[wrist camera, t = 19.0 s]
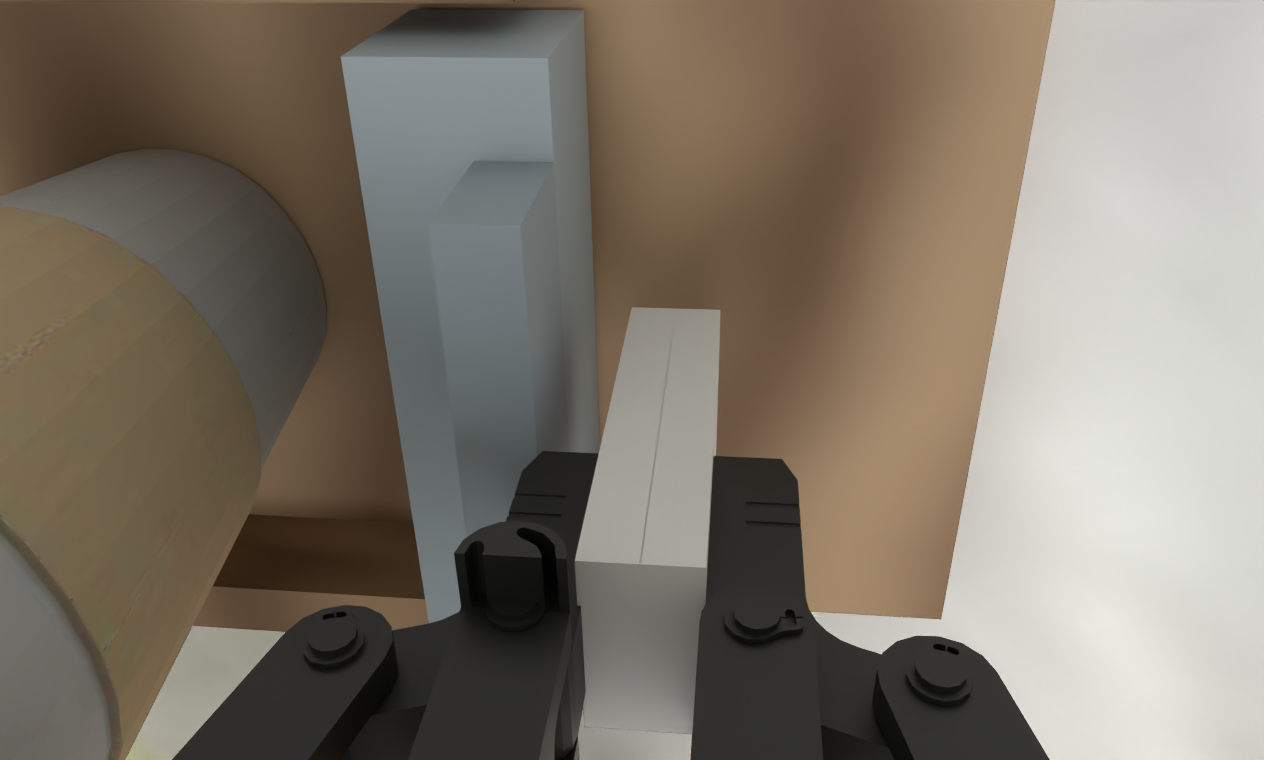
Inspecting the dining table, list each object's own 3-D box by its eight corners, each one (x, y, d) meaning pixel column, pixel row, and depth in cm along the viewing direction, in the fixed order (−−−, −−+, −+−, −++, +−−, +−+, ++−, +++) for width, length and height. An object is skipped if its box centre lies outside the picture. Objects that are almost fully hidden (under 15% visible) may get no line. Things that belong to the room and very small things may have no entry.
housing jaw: (471, 517, 23) (390, 727, 18) (411, 9, 18) (269, 103, 12) (602, 524, 23) (558, 740, 18) (583, 10, 17) (511, 107, 12)
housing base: (3, 531, 27) (-97, 631, 24) (-279, -151, 19) (-488, -137, 16) (932, 584, 25) (959, 702, 21) (1065, -167, 17) (1138, -155, 13)
